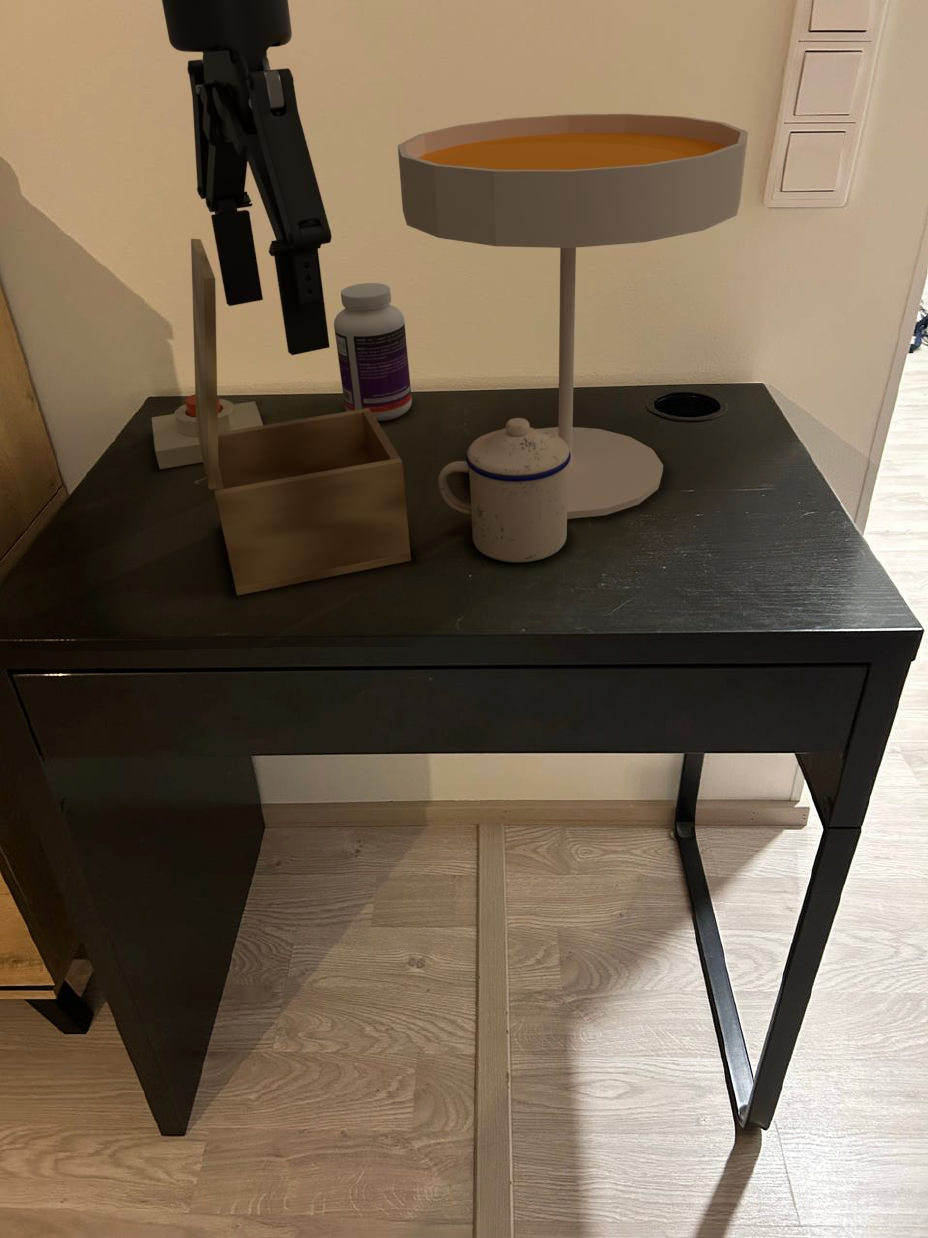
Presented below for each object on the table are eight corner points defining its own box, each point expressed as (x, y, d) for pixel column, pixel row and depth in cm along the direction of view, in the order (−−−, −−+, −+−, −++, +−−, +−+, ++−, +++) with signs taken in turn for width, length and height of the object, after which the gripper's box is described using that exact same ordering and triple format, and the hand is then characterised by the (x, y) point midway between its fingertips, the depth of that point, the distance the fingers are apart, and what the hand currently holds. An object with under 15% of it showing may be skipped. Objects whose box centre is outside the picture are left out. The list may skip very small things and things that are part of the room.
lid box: (379, 499, 96) (369, 407, 90) (411, 560, 86) (402, 461, 80) (222, 528, 92) (201, 434, 87) (237, 595, 82) (214, 494, 77)
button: (189, 421, 105) (186, 406, 104) (187, 409, 108) (184, 395, 107) (222, 416, 106) (219, 401, 105) (219, 404, 109) (216, 390, 108)
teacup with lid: (577, 521, 90) (580, 404, 84) (557, 571, 83) (559, 447, 77) (456, 509, 93) (450, 395, 87) (427, 556, 86) (417, 436, 80)
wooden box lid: (200, 238, 78) (190, 238, 78) (215, 277, 68) (203, 276, 68) (205, 430, 87) (196, 430, 86) (218, 489, 77) (208, 489, 76)
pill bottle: (424, 404, 116) (415, 282, 107) (390, 429, 110) (378, 303, 102) (368, 395, 119) (355, 276, 111) (332, 419, 113) (315, 296, 105)
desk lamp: (631, 399, 114) (648, 104, 96) (769, 508, 90) (825, 145, 73) (391, 441, 107) (361, 132, 89) (473, 570, 84) (455, 187, 66)
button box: (159, 469, 104) (151, 435, 102) (155, 434, 112) (147, 402, 110) (269, 451, 107) (263, 417, 104) (257, 418, 115) (252, 386, 112)
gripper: (363, -36, 50) (395, 362, 62) (219, -29, 68) (266, 277, 80) (223, -29, 47) (285, 387, 59) (112, -24, 65) (177, 293, 77)
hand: (274, 324), depth 69 cm, fingers open, 13 cm apart
